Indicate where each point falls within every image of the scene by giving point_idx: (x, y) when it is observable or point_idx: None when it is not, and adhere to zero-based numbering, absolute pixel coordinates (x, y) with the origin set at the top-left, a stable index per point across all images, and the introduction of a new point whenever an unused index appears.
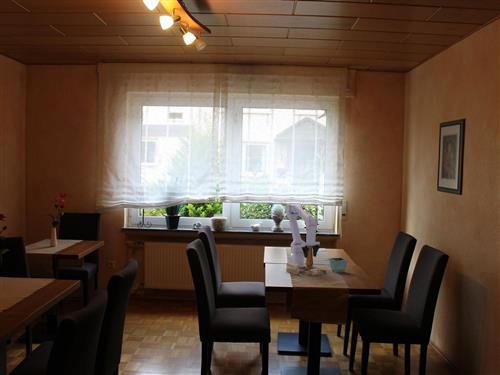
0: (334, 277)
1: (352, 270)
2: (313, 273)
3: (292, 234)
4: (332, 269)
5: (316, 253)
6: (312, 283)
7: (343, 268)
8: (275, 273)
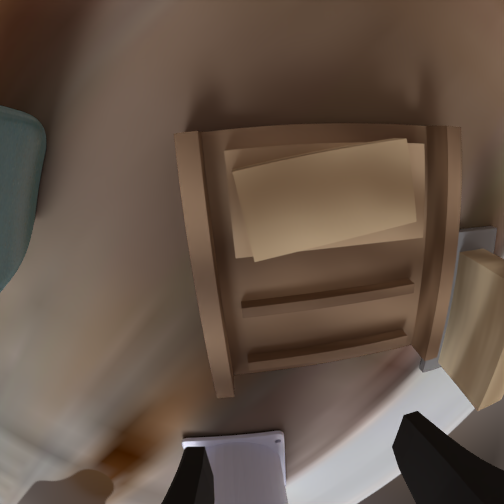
0: (186, 6)
1: None
2: None
3: None
4: (31, 214)
5: (181, 493)
6: (500, 9)
7: None
8: None
